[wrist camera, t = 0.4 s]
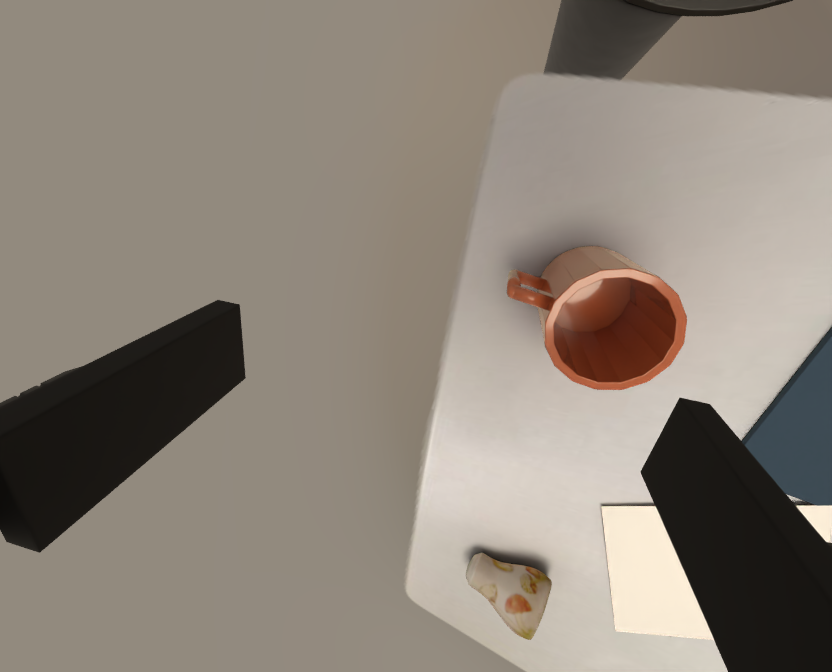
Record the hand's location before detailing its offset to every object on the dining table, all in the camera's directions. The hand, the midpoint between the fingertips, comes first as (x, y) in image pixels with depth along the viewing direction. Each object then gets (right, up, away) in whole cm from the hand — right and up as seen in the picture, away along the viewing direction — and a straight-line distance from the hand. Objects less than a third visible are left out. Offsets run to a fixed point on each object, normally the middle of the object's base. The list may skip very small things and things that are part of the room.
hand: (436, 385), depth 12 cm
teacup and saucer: (+32, -25, +30) cm, 50 cm away
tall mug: (+13, +6, +24) cm, 28 cm away
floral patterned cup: (+11, -28, +37) cm, 48 cm away
